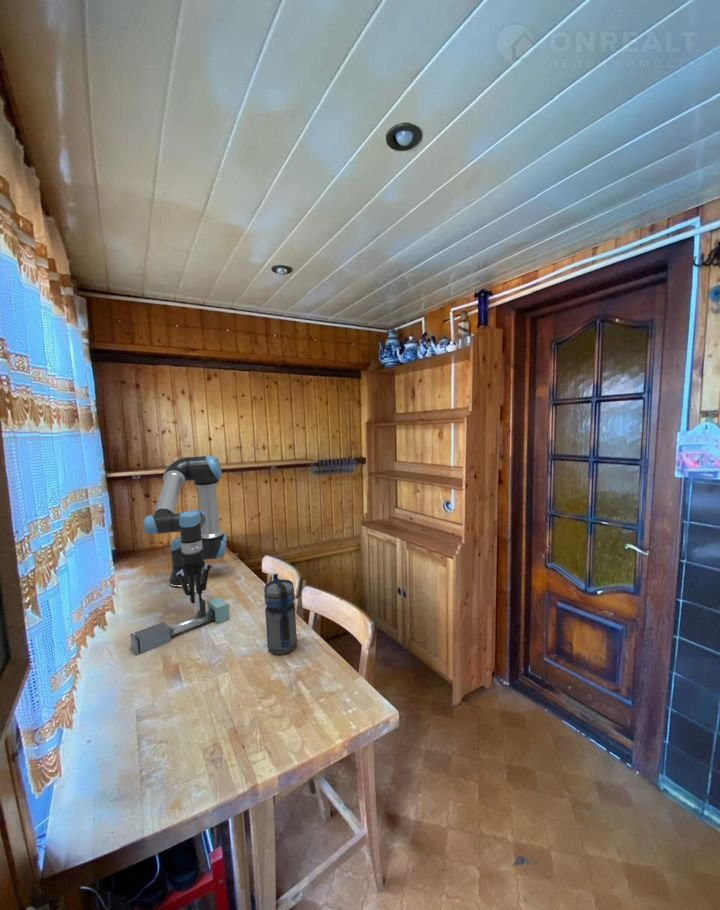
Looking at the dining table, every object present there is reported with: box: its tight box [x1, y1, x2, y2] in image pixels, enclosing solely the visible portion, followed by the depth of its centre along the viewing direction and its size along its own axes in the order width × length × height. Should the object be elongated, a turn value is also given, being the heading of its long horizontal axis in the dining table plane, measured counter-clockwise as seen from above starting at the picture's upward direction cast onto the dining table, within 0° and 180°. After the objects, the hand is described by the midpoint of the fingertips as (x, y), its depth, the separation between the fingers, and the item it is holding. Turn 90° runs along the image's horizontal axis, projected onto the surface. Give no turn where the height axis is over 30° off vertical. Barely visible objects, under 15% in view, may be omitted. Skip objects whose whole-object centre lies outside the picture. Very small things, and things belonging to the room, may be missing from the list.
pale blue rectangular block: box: [206, 596, 231, 625], centre depth 153 cm, size 5×9×7 cm, turn 44°
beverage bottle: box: [263, 573, 298, 655], centre depth 130 cm, size 10×13×25 cm
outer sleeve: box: [129, 621, 172, 656], centre depth 136 cm, size 11×7×5 cm, turn 134°
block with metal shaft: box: [168, 598, 215, 637], centre depth 145 cm, size 22×4×10 cm, turn 134°
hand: (196, 609), depth 147 cm, fingers closed
